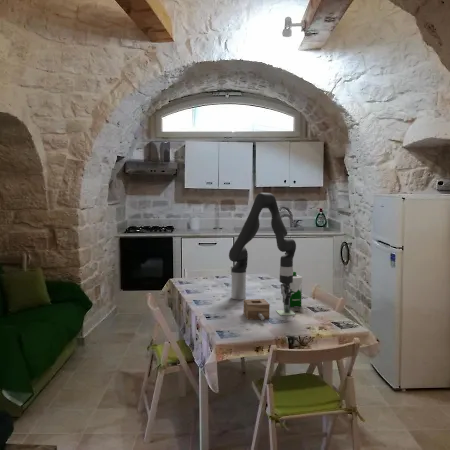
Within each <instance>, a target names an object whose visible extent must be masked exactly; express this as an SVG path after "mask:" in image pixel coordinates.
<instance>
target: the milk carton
mask: <svg viewBox="0 0 450 450" xmlns="http://www.w3.org/2000/svg"><path fill="white" fill-rule="evenodd" d="M303 278H304V277H303V276H301V275H299V274H297V272H296V271H293V282H292V283H290V289H292V291H291V298H290V308H295V307H294V306H299V307H302V293H303V292H302V291H303V290H302V288H303V285H302V283H303Z"/></svg>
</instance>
